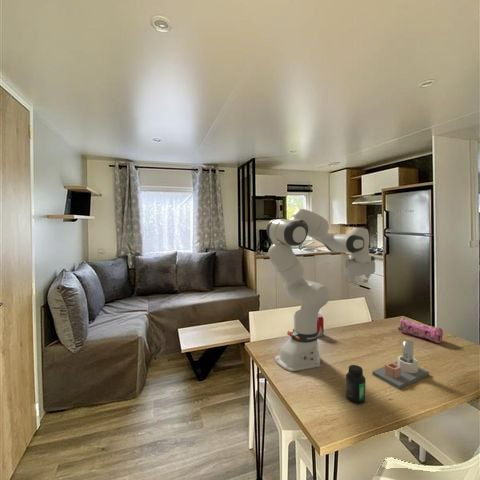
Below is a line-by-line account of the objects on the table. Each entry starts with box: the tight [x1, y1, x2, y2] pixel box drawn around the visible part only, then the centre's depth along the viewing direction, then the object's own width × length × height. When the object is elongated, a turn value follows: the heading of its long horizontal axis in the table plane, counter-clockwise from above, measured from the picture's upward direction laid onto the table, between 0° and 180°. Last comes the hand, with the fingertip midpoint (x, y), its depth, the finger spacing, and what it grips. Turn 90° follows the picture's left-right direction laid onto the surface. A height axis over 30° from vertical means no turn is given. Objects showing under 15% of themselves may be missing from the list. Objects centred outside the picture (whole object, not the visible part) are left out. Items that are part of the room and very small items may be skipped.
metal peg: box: [401, 339, 414, 363], centre depth 119 cm, size 4×4×12 cm
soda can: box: [317, 313, 325, 338], centre depth 160 cm, size 7×7×12 cm
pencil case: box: [397, 317, 444, 344], centre depth 155 cm, size 21×9×9 cm, turn 32°
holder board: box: [371, 355, 430, 390], centre depth 117 cm, size 21×12×6 cm, turn 117°
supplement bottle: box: [345, 364, 367, 405], centre depth 101 cm, size 7×7×12 cm
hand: (359, 283), depth 143 cm, fingers open, 8 cm apart
